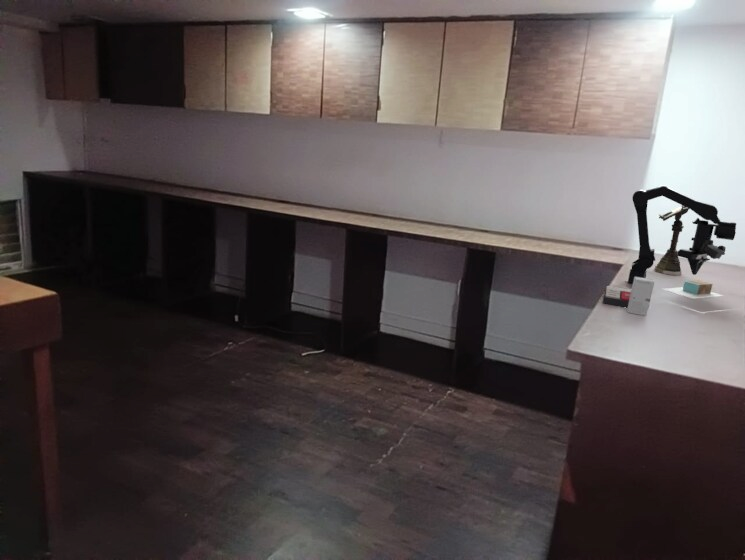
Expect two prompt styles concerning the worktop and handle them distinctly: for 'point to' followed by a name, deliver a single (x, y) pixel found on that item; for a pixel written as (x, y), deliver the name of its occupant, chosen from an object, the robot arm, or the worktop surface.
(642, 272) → the robot arm
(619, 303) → the white black red box
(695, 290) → the wooden block
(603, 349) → the worktop surface
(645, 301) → the skincare box
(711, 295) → the white mat
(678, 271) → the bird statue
